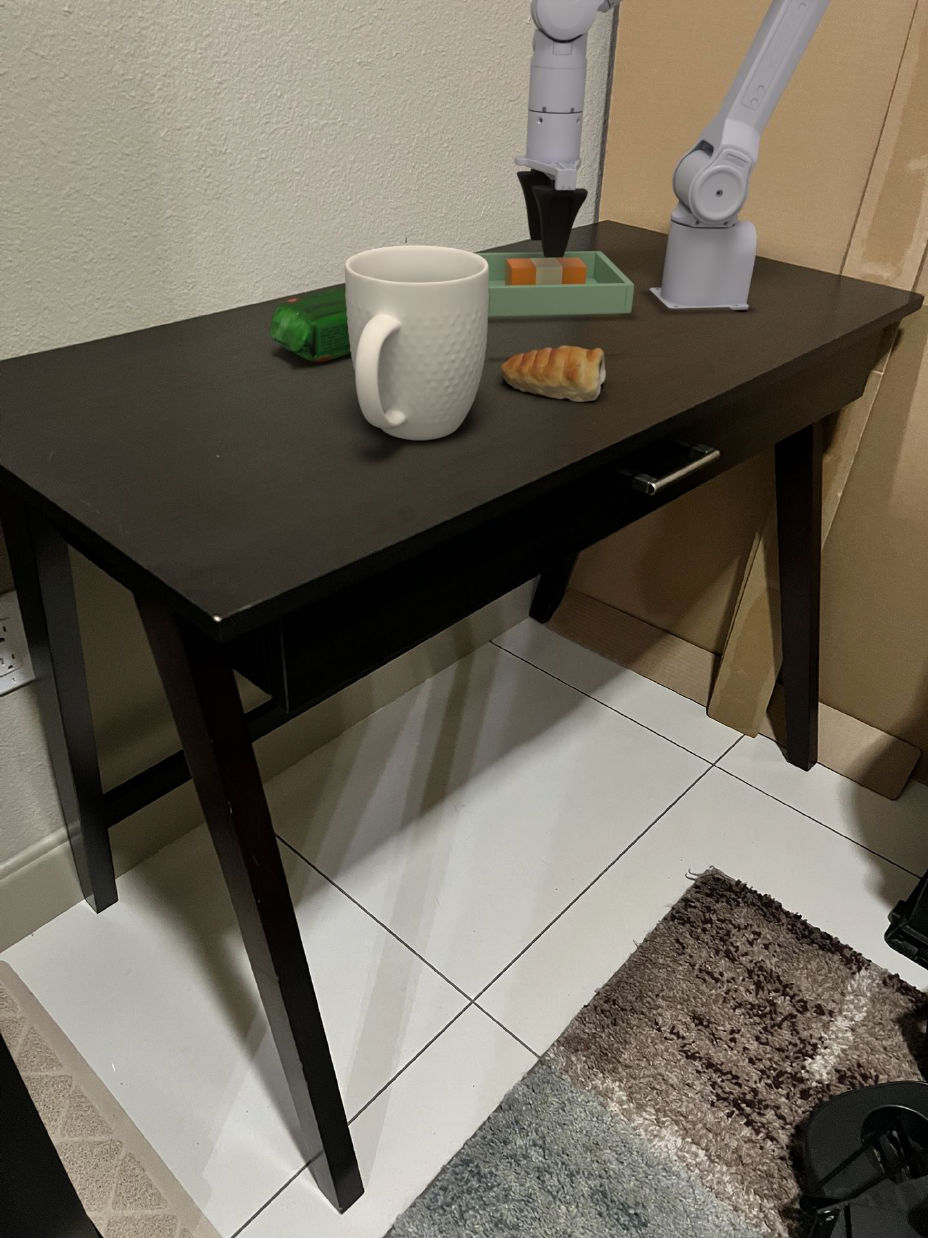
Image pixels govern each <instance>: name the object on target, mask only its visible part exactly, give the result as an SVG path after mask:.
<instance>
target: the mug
mask: <svg viewBox="0 0 928 1238" xmlns="http://www.w3.org/2000/svg"><path fill="white" fill-rule="evenodd" d="M474 253H475V252H471V251H469V250H464V249H460V248H455V247H448V246H438V245H422V244H421V245H418V244H417V245H415V244H414V245H412V244H411V245H408V244H407V245H392V246H384V247H377V248H371V249H367V250H363V251H361V252H357V253H356V254H353V255H351V256H350V257H348V258H347V259H346V260H345V262H344V281H345V282H344V283H345V287H346V294H345V297H346V305H347V306H346V307H347V318H348V319H347V323H348V333H349V341H350V351H351V354H350V357H351V361H352V367H353V370H354V374H355V377H354V378H355V390H356V396H357V400H358V404H359V407H360V410H361V412H362V415H363V417H364V418H365V419H366V421H367V422H368V423H369V424H371V425H372V426H373V427H375V428H379V429H381V430H382V431H383V432H384V433H385V434H388V435H389V436H392V437H394V438H399V439H402V440H408V441H430V440H431V441H432V440H437V439H441V438H444V437H447V436H449V435H451V434H453V433H454V432H455V431H456V430H458V428H459V427H460V426H461V425H462V424H463V422H464V420H465V419H466V417H467V415H468V414H469V411H470V410H471V408H472V406H473V405H474V402H475V399H476V395H477V393H478V391H479V387H480V383H481V379H482V376H483V369H484V366H485V360H486V352H487V351H486V350H487V343H488V341H487V339H488V337H487V336H488V333H489V332H488V331H489V330H488V326H489V317H488V304H489V302H488V299H489V293H488V292H489V266H488V263H487V261H486V260H485V259H484V258H483V257H481V256H479V255H477V254H474Z"/></svg>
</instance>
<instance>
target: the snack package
mask: <svg viewBox="0 0 928 1238" xmlns="http://www.w3.org/2000/svg"><path fill="white" fill-rule="evenodd" d="M345 294H346V286H343V287H338V288H333V289H328V290H324V291H320V292H315V293H312V294H306V295H301V296H298V297H293V298H290V299H288V300H286V301H283V302H282V303H280V304H279V305H277V307H276V308H275V310H274V311H273V313H272V316H271V321H270V326H269V336H270V338H271V339H272V341H274V342H276V343H279V344H280V345H282V346H283V347H284V348H285V349H286V350H288V351H290V352H292V353H293V354H296V355H298V356H299V357H301V358H303V359H305V360H307V361H311V362H314V363H321V362H322V363H323V362H328V361H331V360H335V359H338V358H340V357H345V356H348V355H351V351H350V341H349V333H348V323H347V319H348V318H347V307H346V306H347V305H346V297H345Z"/></svg>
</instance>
